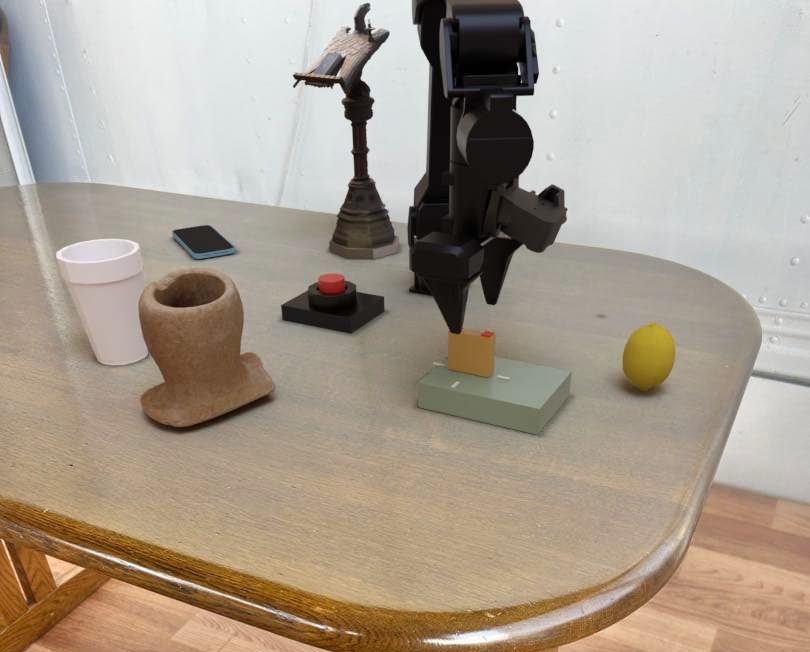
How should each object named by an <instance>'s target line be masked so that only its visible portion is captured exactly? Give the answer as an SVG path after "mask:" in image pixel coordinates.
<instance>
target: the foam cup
mask: <svg viewBox="0 0 810 652" xmlns="http://www.w3.org/2000/svg"><path fill="white" fill-rule="evenodd" d="M141 253H142V252H141V249H140V245H139V243H138V242H135V241H133V240H130V239H123V238H100V239H99V238H98V239H97V238H96V239H90V240H85V241H80V242H76V243H72V244H70V245H67V246H63V247H62V248H61V249H59V250H58V251H56V252H55V254H56V255H55V257H56V262H57V265H58V269H59V273H60V277H61V279H63V280H64V282H65V284H66V288H67V290H68V292H69V294H70V297H71V299H72V302H73V304H74V307H75V310H76V312H77V314H78V317H79V320H80V322H81V324H82V326H83V330H84V331H85V334H86V336H87V339H88V341H89V343H90V346H91V349H92V351H93V354H94V356H95V357H96V360H97V362H99V364H102V365H105V366H125V365H130V364H134V363H137V362H139V361H142V360H144V359H146V357H147V356H148V355H149V350H148V348H147V346H146V344H145V341H144V338H143V334H142V330H141V325H140V319H139V310H138V305H139V299H140V296H141V294H142V293H143V291H144V289H145V288H144V277H143V270H144V269H145V268H144V264H143V259H142V254H141Z"/></svg>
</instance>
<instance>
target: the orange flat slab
mask: <svg viewBox="0 0 810 652" xmlns="http://www.w3.org/2000/svg"><path fill="white" fill-rule="evenodd" d="M447 331H448V332H447V357H448V369H449V370H454V371H459V372H463V373H468V374H473V375H478V376H483V377H487V378H489V377H490V376H491V375H492V374H493V373H494V357H496V356H495V355H496V354H495V353H496V338H497V337H496V335H497V334H495V332H494V331H489V330H484V331H480V330H475V329H471V328H470V329H469V328H464V327H462V332H461V333H460V334H453V333H451V332H450V330H449V329H448V330H447Z"/></svg>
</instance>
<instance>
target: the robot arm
mask: <svg viewBox="0 0 810 652" xmlns="http://www.w3.org/2000/svg"><path fill="white" fill-rule="evenodd" d="M524 11H525V10H524V6H523V4H522V3H521V2H520V1H519V0H411V20H412V25H413V26H416V30H417V36H418V41H419V44H420V45H419V46H420V50H421V51H422V52H423V54H424V56H425V58H426V60H427V62H428V63H429V64H428V95H427V96H428V97H427V98H428V99H427V126H426V127H427V128H426V129H427V130H426V157H425V160H426V161H425V164H426V165H425V172H424V174H423V175H422V176H421V178H420V180H419V181H418V183H417V184H416V185H415V187H414V189H413V205H410V206H409V207H408V217H407V218H408V219H407V228H406V230H407V244H408V245H407V246H408V248H409V249H408V264H409V265H408V267H409V271H410V272H412V273H413V284H412V285H411V286H409V288H408V291H409V292H410V293H416V294H421V295H427V296H432V298H433V299H434V302H435V303H436V305H437V308H438V309H439V313H440V314H441V316H442V318H443V320H444V321H445V322H444V323H445V324H446V326H447V328H448V331H449V330H450V332H451V333H453V334H460V333H461V332H462V328H464V323H465V316H466V309H467V304H468V296H469V290H470V286H471V284H473V283H474V282H475V281H476V280H477V279H478V278H479V280H480V284H481V288H482V292H483V293H482V294H483V296H484V297H483V298H484V300H485V303H486V305H488V306H496V305H497V304H498V301H499V298H500V294H501V293H502V288H503V286H504V282H505V280H506V276H507V273H508V270H509V268H510V264H511V262H512V258H513V256H514V254H515V253H516V251H518V250H519V249H520V248H522V246H523V245H524V246H525V248H526V249H527V250H529V251H531V252H533V253H537V254H542V253H544V252H545V250H546V249H547V248H548V247H550V246H553V245H554V243H555V241H556V239H557V237H558V234H559V232H560V230H561V227H562V225H564V224H566V222H567V221H568V216H567V212H568V210H569V208H568V207H566V206H565V205H566V204H565V203H566V201H565V190H564V189H563V188H561V187H559V186H557V185H555V184H553V183H552V184H550V185H548V186H547V187H545V188H544V189H543V190H541V192H540V193H539V194H536V193H537V191H535V190H534V189H532V190H530V191H528V190H526V189H523V188H522V187H520V176H521V175H522V174H523V173H524V172H525V170H526V169H527V168H528V166H529V165H530V163H531V160H532V157H533V152H534V148H535V141H534V137H533V133H532V129H531V127H530V125H529V123H528V122H527V120H526V119H525V118H524V117H523V116H522V115H521V114H520V113H519V112H518V111H517V97H531V96H534V95H535V85H537V84H538V80H539V76H540V68H539V59H538V50H537V42H536V34H535V31H534V30H533V29H532V25H531V24H532V23H531V19H530V17H529V16H528V15H527V16H526V15H525V12H524Z"/></svg>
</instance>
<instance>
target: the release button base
mask: <svg viewBox="0 0 810 652" xmlns="http://www.w3.org/2000/svg"><path fill="white" fill-rule="evenodd" d="M280 309H281V318H282V321H284V322H290V323H294V324H300V325H304V326H308V327H309V326H310V327H313V328H314V327H315V328H319V329H325V330H329V331H335V332H338V333H339V332H340V333H345V334H350V335H351V334H353V333H355V332H356V331H358V330H359V329H361V328H362V327H364V326H366V325H367V324H368V323H370V322H372V321H373V320H374V319H376V318H377V317H378V316H380V315H382V314H383V313H384V312H385V296H383V295H378V294H371V293H365V292H362V291H361V292H360V291H357V284H356V283H354V282H352V281H350V280H345V290H344V291H343V292H338V293H323V292H319V285H318V281H317V282H313V283H311V284H310V285H308V288H307V290H306V291H304V292H302V293H300V294H299V295H297V296H295V297H292V298H291V299H289V300H287V301H286V302H284V303H282V304H281V305H280Z"/></svg>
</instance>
